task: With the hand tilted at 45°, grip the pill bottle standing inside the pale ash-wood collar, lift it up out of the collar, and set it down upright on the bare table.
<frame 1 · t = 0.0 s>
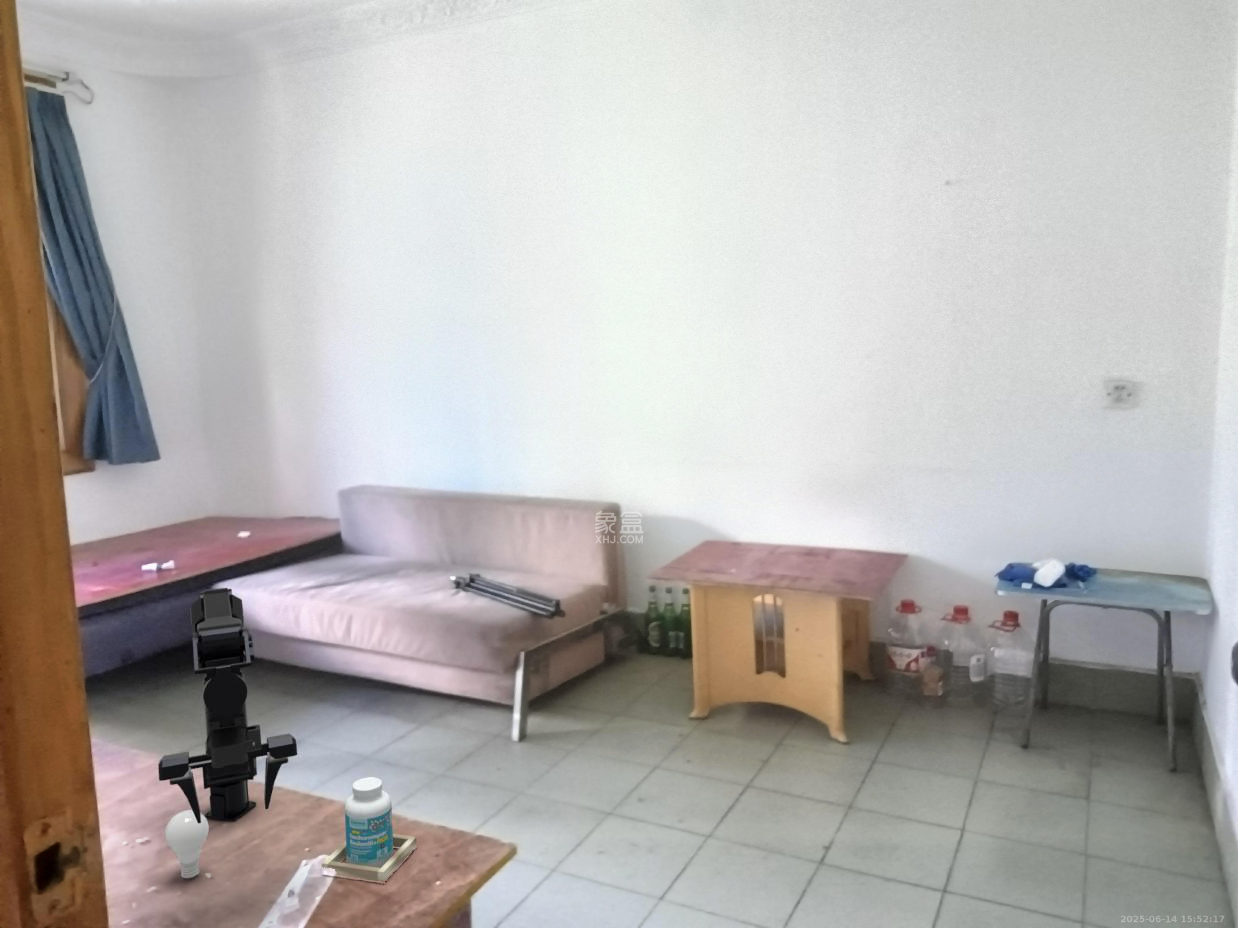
hand: (233, 815, 136), 15 cm above the table, tool pointing down, fingers open, 9 cm apart
pill bottle: (370, 862, 152), resting in wooden collar
lightbulb: (190, 878, 148), on the table
wooden collar: (370, 861, 152), on the table
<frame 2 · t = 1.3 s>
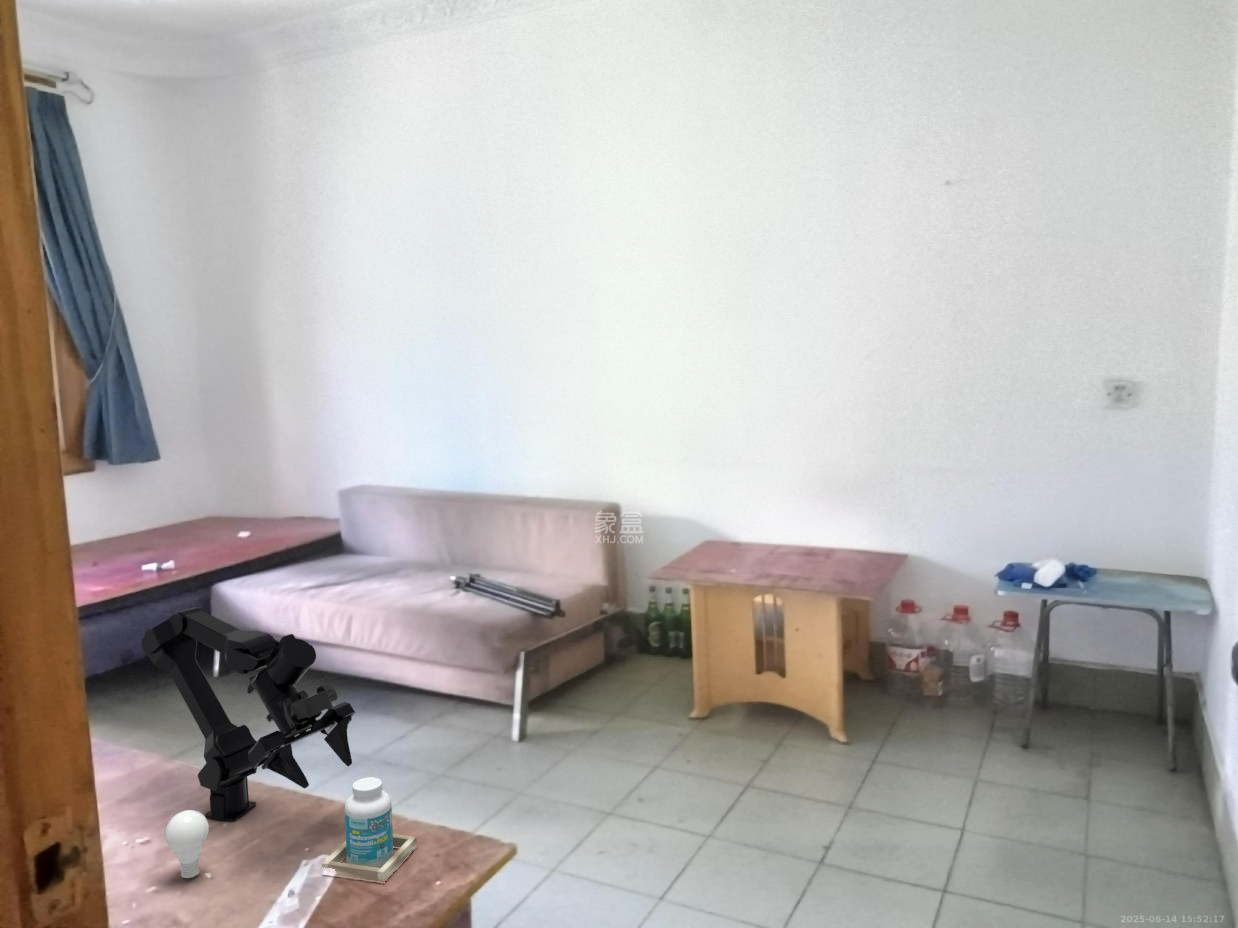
hand: (329, 775, 154), 13 cm above the table, tool tilted 45°, fingers open, 9 cm apart
nothing on the table moved.
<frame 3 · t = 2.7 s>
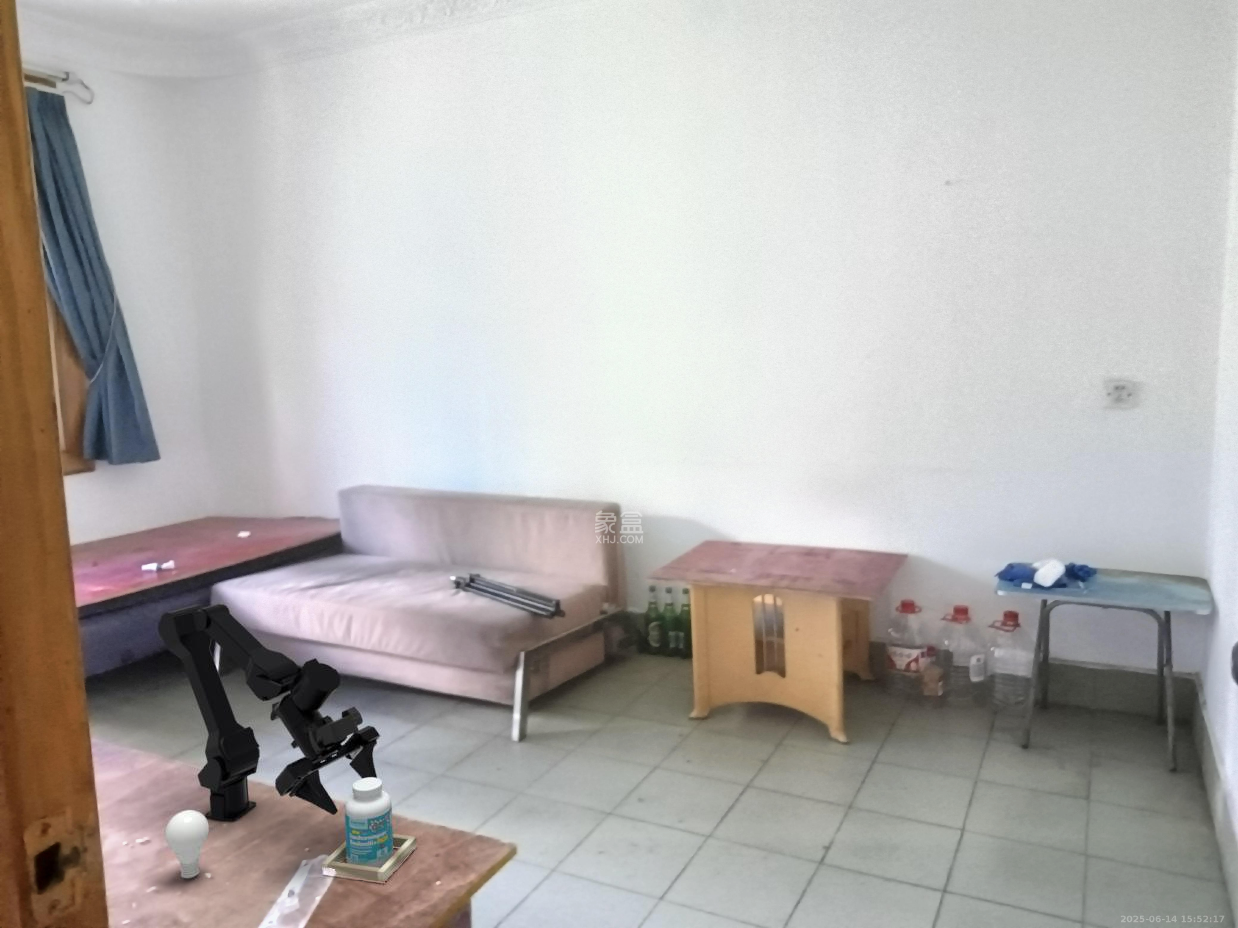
hand: (357, 800, 152), 10 cm above the table, tool tilted 45°, fingers open, 9 cm apart
nothing on the table moved.
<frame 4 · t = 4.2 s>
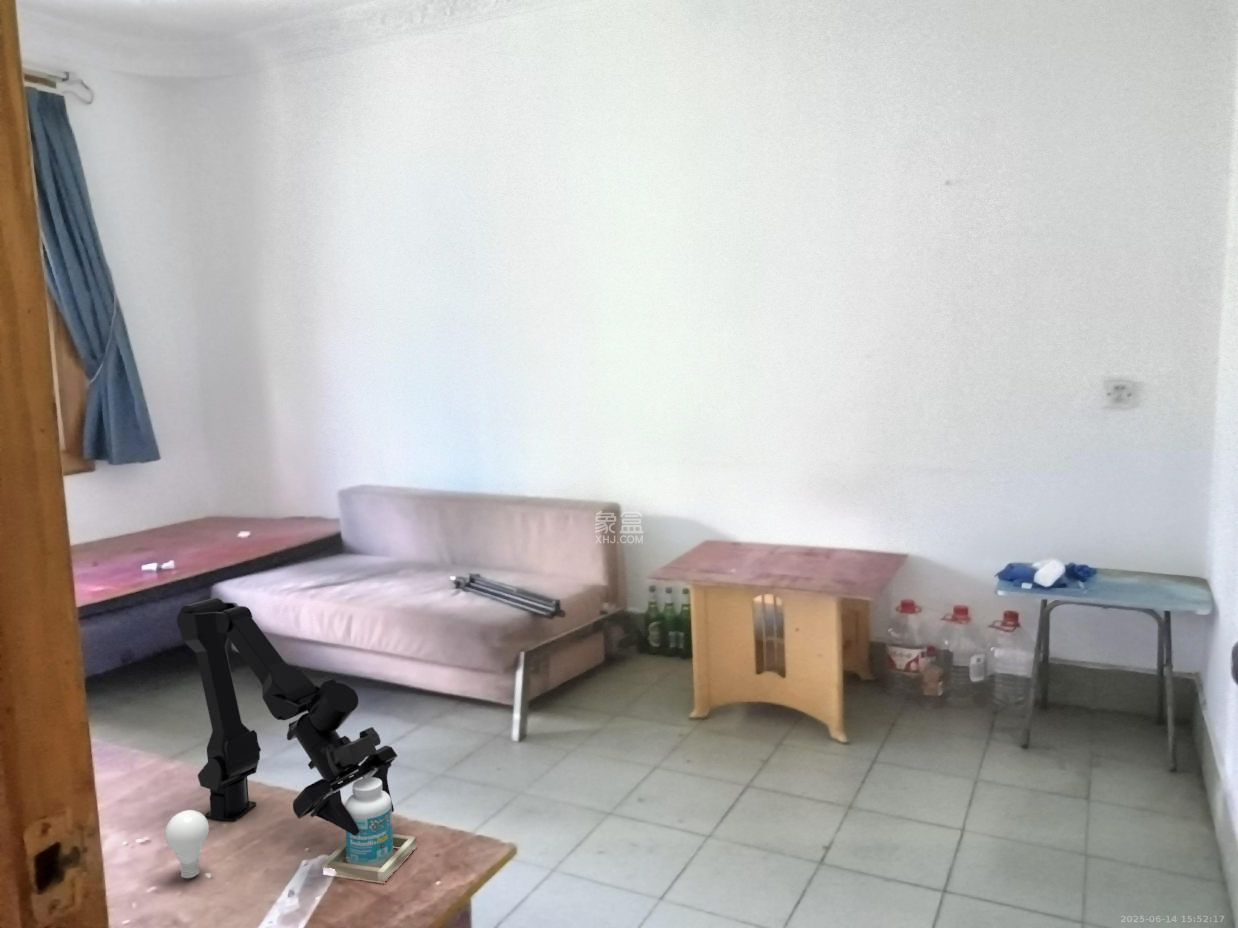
hand: (375, 822, 150), 7 cm above the table, tool tilted 45°, fingers closed on pill bottle, 7 cm apart
pill bottle: (370, 862, 152), resting in wooden collar, touching gripper
everything else where it was.
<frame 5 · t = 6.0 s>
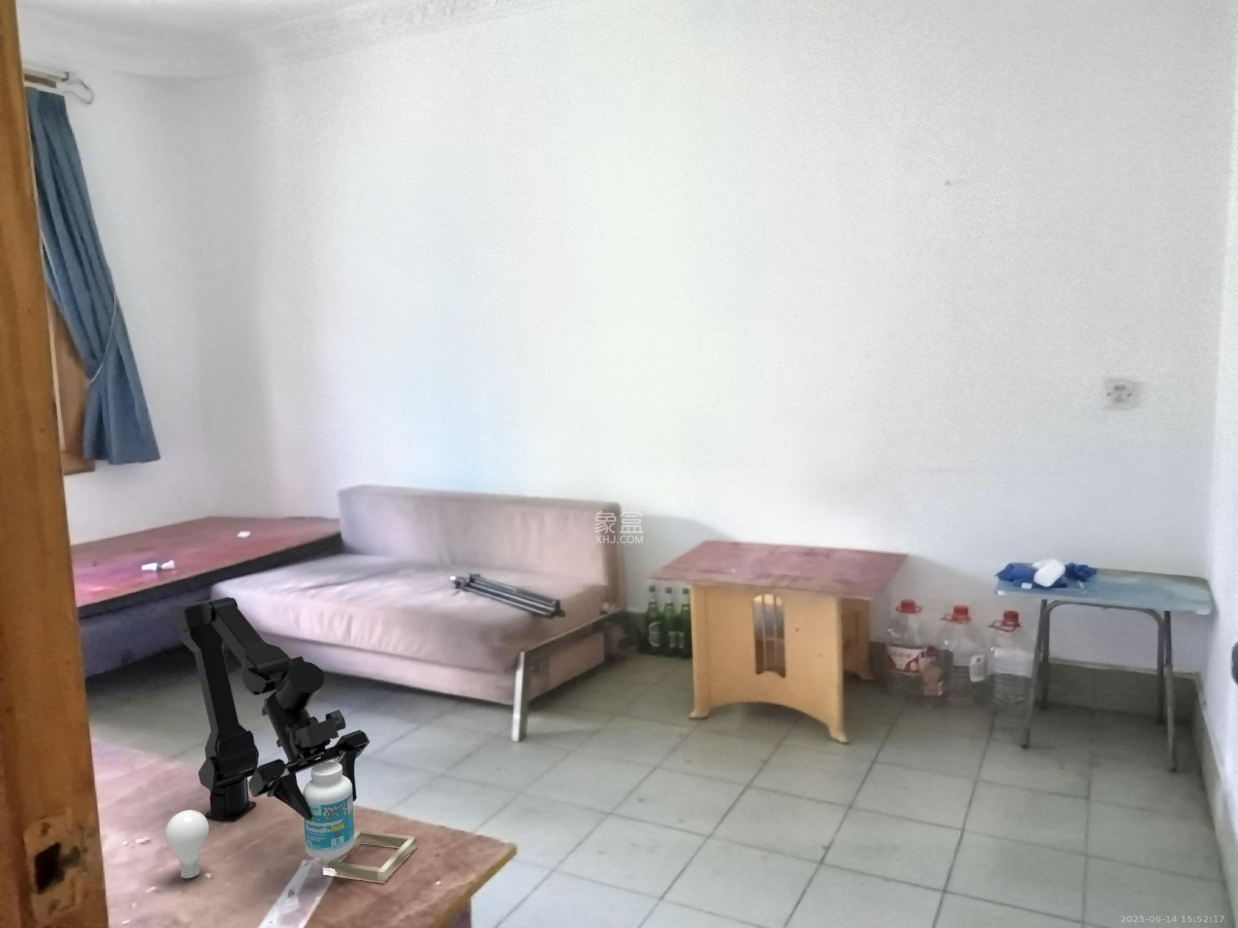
hand: (332, 809, 144), 12 cm above the table, tool tilted 45°, fingers closed on pill bottle, 7 cm apart
pill bottle: (330, 849, 146), point 5 cm above the table, touching gripper
everything else where it was.
when the fingers open (8 cm above the table, at t = 8.0 s): pill bottle drops 1 cm, on the table.
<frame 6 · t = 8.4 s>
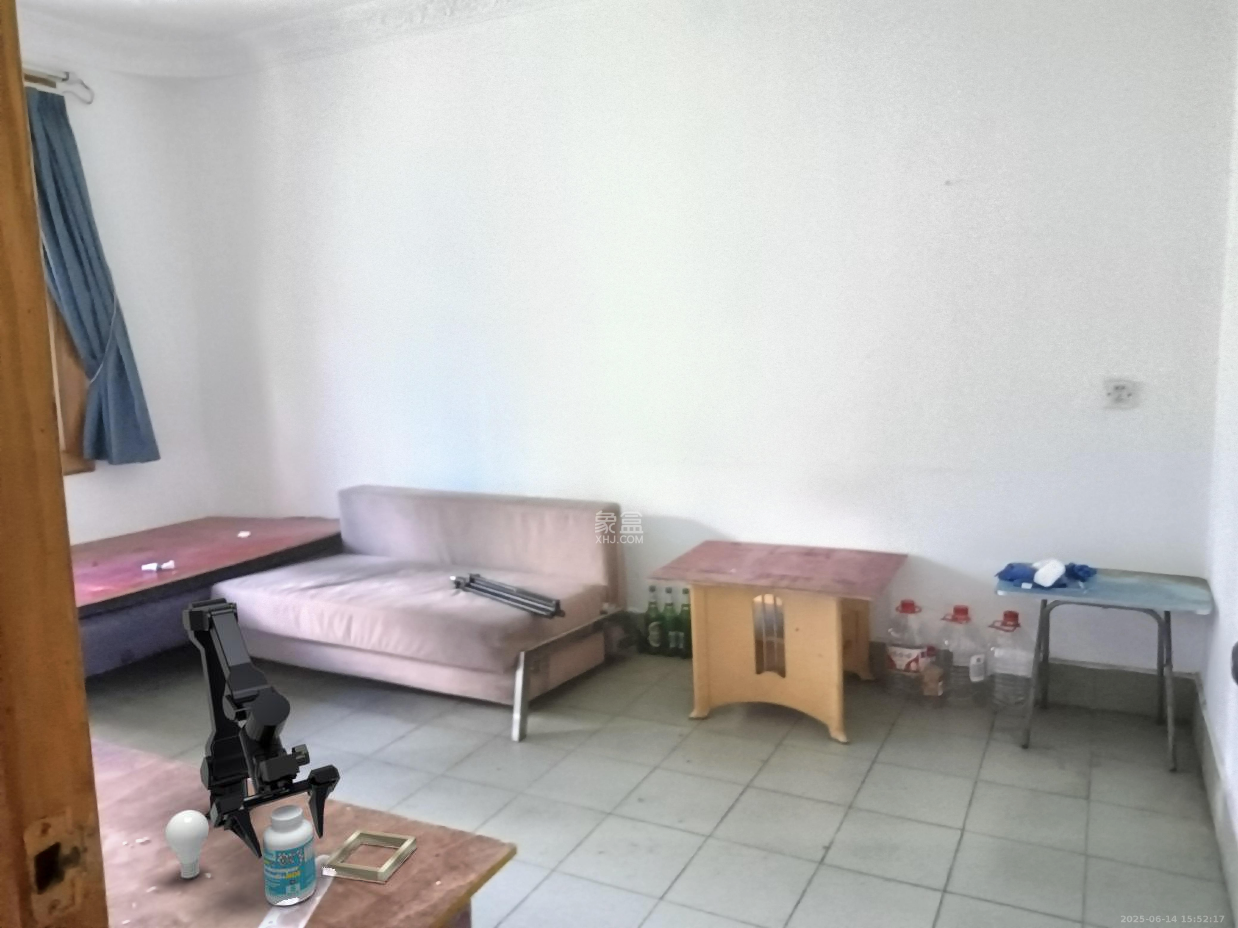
hand: (291, 847, 140), 8 cm above the table, tool tilted 45°, fingers open, 9 cm apart
pill bottle: (291, 895, 143), on the table
everything else where it was.
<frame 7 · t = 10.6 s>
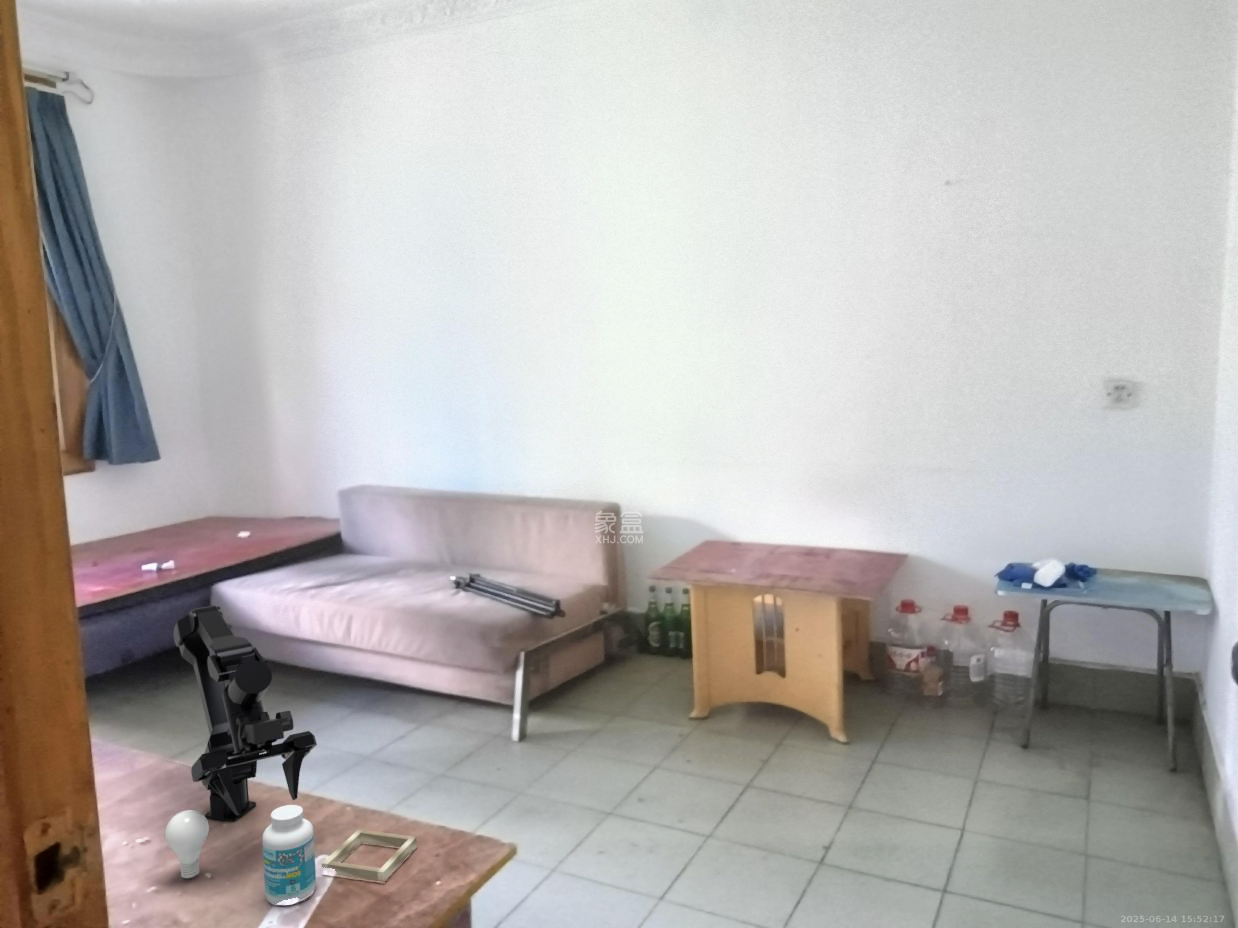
hand: (267, 806, 148), 11 cm above the table, tool tilted 35°, fingers open, 9 cm apart
nothing on the table moved.
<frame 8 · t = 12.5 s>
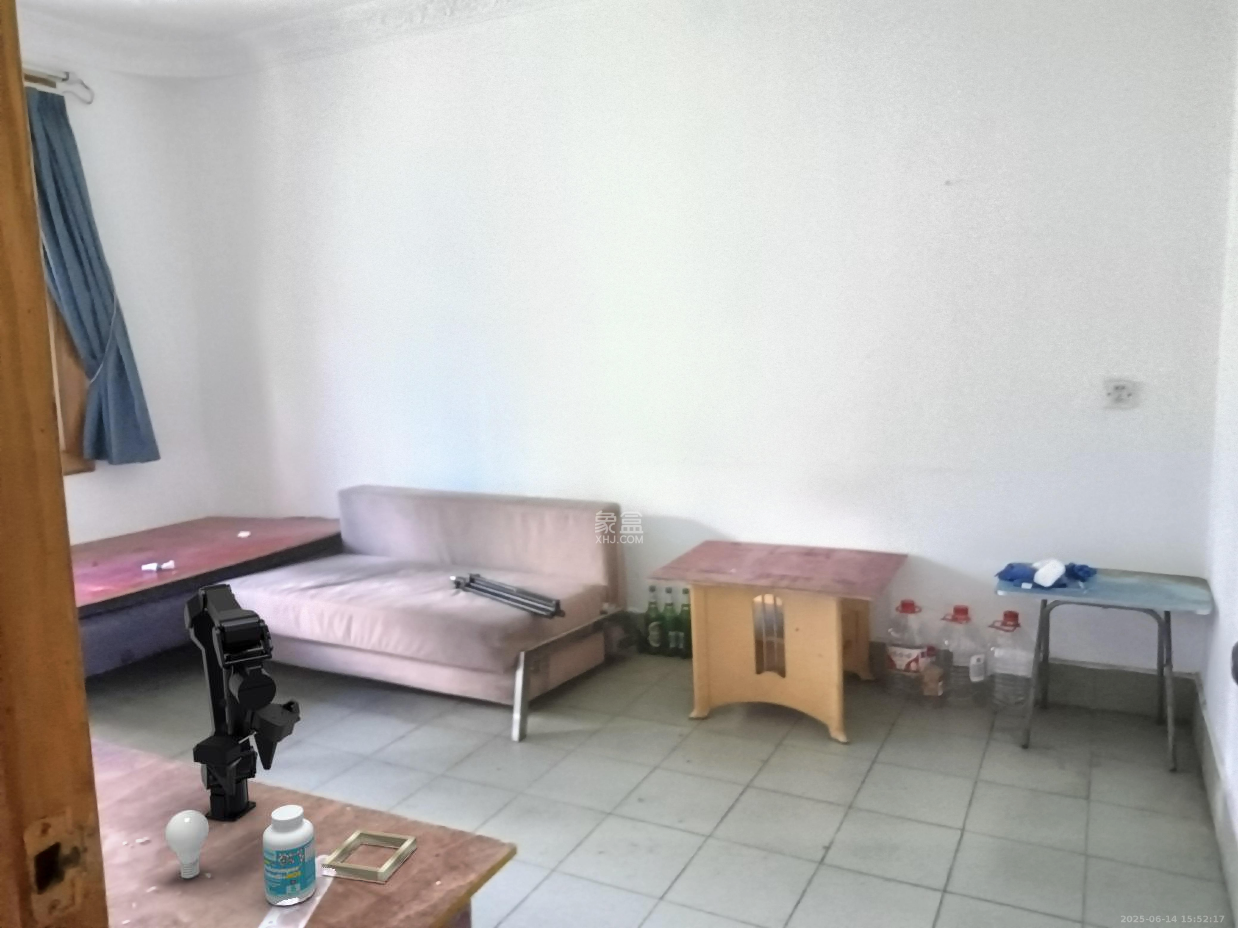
hand: (249, 781, 152), 13 cm above the table, tool pointing down, fingers open, 9 cm apart
nothing on the table moved.
at the end: pill bottle inside the target area (0.2 cm from its centre), on the table; pill bottle tilted 0°; the gripper is holding nothing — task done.
